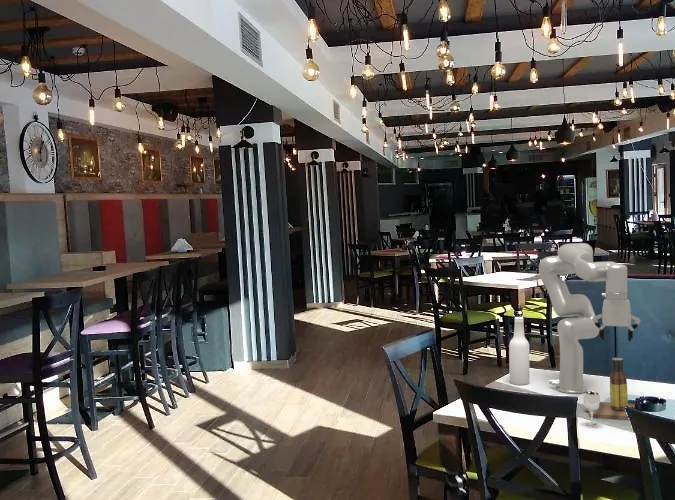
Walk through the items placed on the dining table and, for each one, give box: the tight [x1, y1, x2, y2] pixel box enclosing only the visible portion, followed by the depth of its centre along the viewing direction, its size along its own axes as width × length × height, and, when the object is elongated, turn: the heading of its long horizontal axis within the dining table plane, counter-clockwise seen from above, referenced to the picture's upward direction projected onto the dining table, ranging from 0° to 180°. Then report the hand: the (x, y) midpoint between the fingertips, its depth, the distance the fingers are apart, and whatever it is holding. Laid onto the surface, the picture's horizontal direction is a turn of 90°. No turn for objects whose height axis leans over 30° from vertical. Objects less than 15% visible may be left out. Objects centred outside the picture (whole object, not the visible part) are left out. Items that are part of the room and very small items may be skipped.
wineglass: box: [583, 390, 601, 428], centre depth 245 cm, size 6×6×12 cm
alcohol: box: [508, 316, 531, 386], centre depth 301 cm, size 9×9×30 cm
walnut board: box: [587, 401, 636, 421], centre depth 258 cm, size 20×16×2 cm
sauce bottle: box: [609, 357, 629, 411], centre depth 257 cm, size 6×6×20 cm
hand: (615, 339), depth 257 cm, fingers open, 9 cm apart
